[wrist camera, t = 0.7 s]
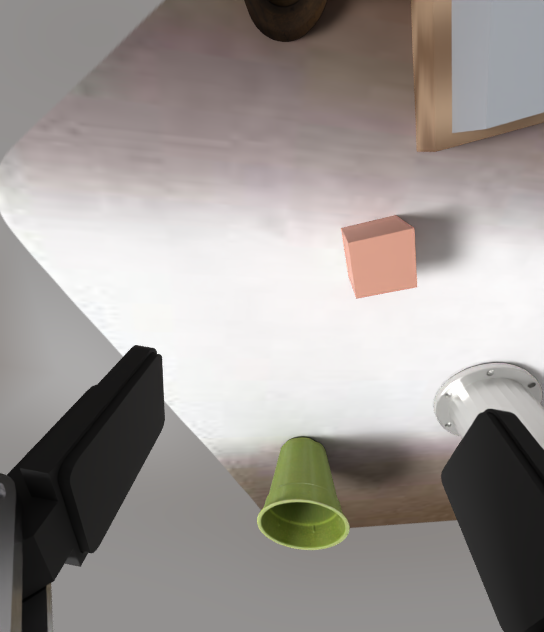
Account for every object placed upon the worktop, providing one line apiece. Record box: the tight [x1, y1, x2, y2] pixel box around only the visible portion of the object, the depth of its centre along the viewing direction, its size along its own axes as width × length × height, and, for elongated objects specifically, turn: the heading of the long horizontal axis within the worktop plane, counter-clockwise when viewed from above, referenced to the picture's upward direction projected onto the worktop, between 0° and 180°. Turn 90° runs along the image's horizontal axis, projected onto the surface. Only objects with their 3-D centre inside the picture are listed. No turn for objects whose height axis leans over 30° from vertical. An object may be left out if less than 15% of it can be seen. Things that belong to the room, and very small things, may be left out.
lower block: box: [411, 0, 544, 152], centre depth 22 cm, size 12×12×5 cm
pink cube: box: [341, 215, 417, 299], centre depth 30 cm, size 6×6×6 cm
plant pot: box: [257, 437, 350, 550], centre depth 44 cm, size 12×12×11 cm
